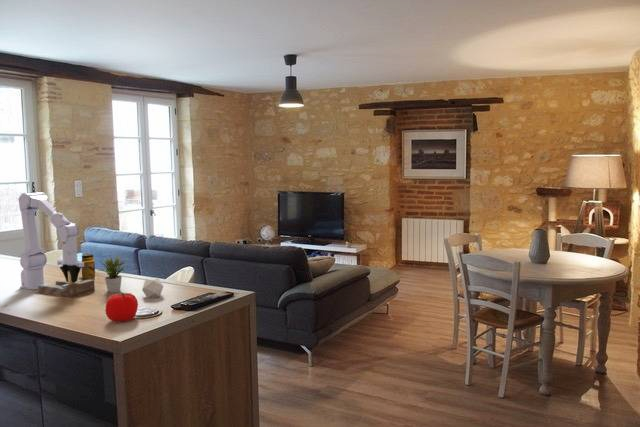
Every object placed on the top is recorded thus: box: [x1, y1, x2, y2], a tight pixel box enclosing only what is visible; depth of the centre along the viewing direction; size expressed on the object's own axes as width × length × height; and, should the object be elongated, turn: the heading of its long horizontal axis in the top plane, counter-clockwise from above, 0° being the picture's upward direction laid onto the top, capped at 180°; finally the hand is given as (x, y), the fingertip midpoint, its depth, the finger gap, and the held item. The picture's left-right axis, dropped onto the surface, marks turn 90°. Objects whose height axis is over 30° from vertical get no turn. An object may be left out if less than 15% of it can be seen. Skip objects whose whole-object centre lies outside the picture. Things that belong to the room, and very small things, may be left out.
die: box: [141, 277, 164, 299], centre depth 226 cm, size 8×9×10 cm
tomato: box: [105, 292, 139, 323], centre depth 193 cm, size 12×12×10 cm
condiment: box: [77, 253, 98, 282], centre depth 260 cm, size 7×8×12 cm
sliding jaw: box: [62, 271, 77, 288], centre depth 233 cm, size 5×7×8 cm
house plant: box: [97, 254, 129, 293], centre depth 234 cm, size 14×14×16 cm
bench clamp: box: [36, 279, 96, 298], centre depth 235 cm, size 22×12×5 cm, turn 65°
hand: (71, 281), depth 233 cm, fingers closed on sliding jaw, 3 cm apart
